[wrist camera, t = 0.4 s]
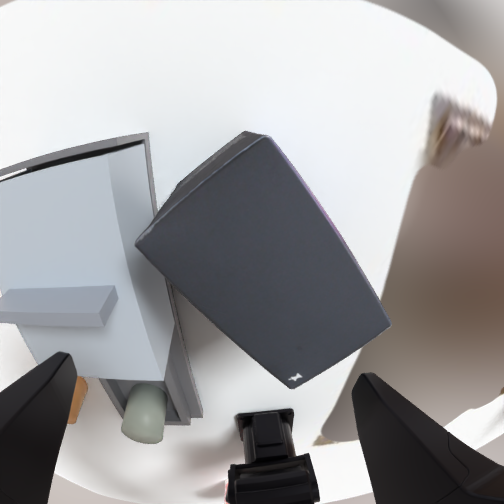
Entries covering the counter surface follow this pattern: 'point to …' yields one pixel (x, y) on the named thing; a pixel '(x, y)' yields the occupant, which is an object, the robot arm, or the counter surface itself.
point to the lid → (85, 266)
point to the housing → (178, 368)
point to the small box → (264, 261)
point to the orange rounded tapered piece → (77, 399)
